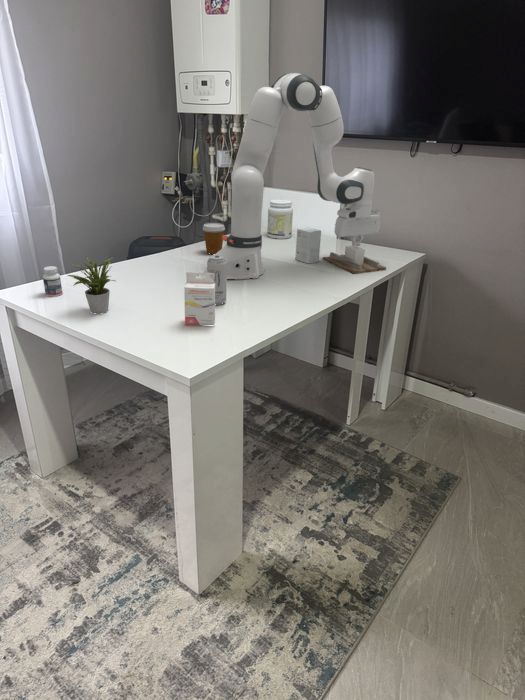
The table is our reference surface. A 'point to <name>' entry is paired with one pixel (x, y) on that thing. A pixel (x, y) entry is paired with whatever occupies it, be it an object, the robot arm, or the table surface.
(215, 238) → the disposable coffee cup
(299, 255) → the small box
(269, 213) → the supplement tub
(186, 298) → the ink cartridge box
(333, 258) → the brown flat wooden board
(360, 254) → the module block
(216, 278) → the energy drink can
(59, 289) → the pill bottle
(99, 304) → the house plant
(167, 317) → the table surface
